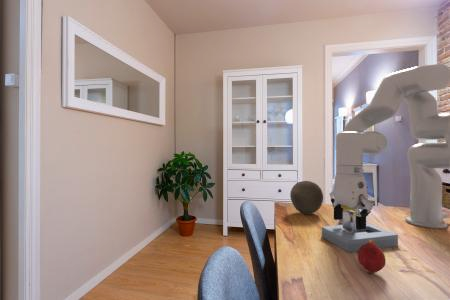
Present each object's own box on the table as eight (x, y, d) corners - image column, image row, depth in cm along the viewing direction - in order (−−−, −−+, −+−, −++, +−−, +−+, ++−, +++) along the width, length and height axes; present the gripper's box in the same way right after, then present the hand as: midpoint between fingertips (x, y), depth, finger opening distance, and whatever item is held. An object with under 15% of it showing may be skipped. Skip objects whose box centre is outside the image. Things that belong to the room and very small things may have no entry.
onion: (386, 282, 53) (386, 247, 53) (356, 275, 56) (356, 241, 56) (384, 270, 58) (385, 238, 58) (358, 264, 61) (358, 234, 61)
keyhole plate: (366, 232, 84) (366, 222, 84) (397, 245, 73) (397, 234, 73) (321, 236, 80) (321, 226, 80) (348, 252, 69) (348, 240, 69)
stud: (349, 239, 78) (349, 209, 78) (359, 243, 74) (359, 212, 74) (339, 240, 77) (339, 210, 77) (348, 245, 73) (348, 213, 73)
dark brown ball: (288, 209, 115) (288, 178, 115) (318, 210, 113) (318, 179, 113) (292, 218, 101) (292, 183, 101) (327, 219, 99) (327, 183, 99)
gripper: (382, 173, 68) (382, 232, 68) (339, 168, 85) (339, 215, 85) (360, 173, 66) (360, 234, 66) (321, 168, 83) (321, 217, 83)
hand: (348, 224), depth 76 cm, fingers open, 9 cm apart
